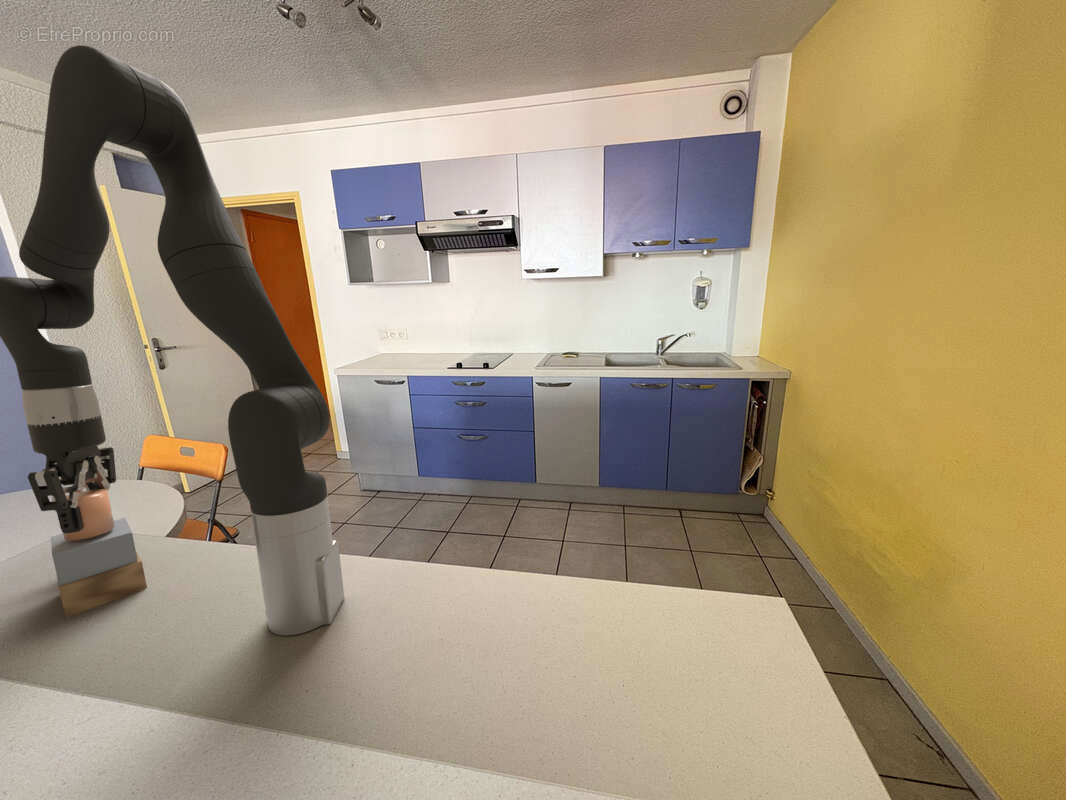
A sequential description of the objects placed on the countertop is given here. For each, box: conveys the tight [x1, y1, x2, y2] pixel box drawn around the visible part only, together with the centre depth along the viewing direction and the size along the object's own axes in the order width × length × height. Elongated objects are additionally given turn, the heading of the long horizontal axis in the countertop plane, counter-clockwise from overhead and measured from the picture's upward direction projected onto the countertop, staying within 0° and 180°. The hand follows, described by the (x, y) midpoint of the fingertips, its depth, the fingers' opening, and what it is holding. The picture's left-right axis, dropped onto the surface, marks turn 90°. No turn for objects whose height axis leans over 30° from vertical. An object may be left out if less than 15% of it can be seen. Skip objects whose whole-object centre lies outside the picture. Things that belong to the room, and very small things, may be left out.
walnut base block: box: [56, 551, 148, 618], centre depth 68 cm, size 9×9×5 cm
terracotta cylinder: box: [62, 489, 114, 541], centre depth 66 cm, size 6×6×6 cm
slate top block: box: [50, 517, 138, 587], centre depth 68 cm, size 8×8×5 cm
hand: (88, 522), depth 66 cm, fingers open, 5 cm apart
